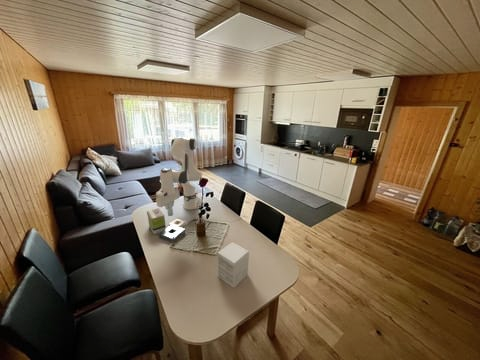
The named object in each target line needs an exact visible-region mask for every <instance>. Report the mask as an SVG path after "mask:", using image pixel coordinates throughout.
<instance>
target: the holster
mask: <svg viewBox="0 0 480 360" xmlns="http://www.w3.org/2000/svg"><path fill="white" fill-rule="evenodd" d="M170 225H174V226H177V227H181V228H183V227H184V226H186V225H187V221H186V220H183V219H179V218H176V219H174V220H172V221H170V222H169V223H168V227H169V226H170Z"/></svg>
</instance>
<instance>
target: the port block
mask: <svg viewBox="0 0 480 360" xmlns="http://www.w3.org/2000/svg"><path fill="white" fill-rule="evenodd" d="M185 234H186V228H183V227H182V228H181V227H177V226H174V225H170V226H169V225H168V227H166V229H165V230H163V231H162V232H160V233H158V238H159V239H160V240H163V241H167V242H169V243H171V244H174V243H176V242H177V241H178V240H179V239H180V238H181V237H184V235H185Z"/></svg>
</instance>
